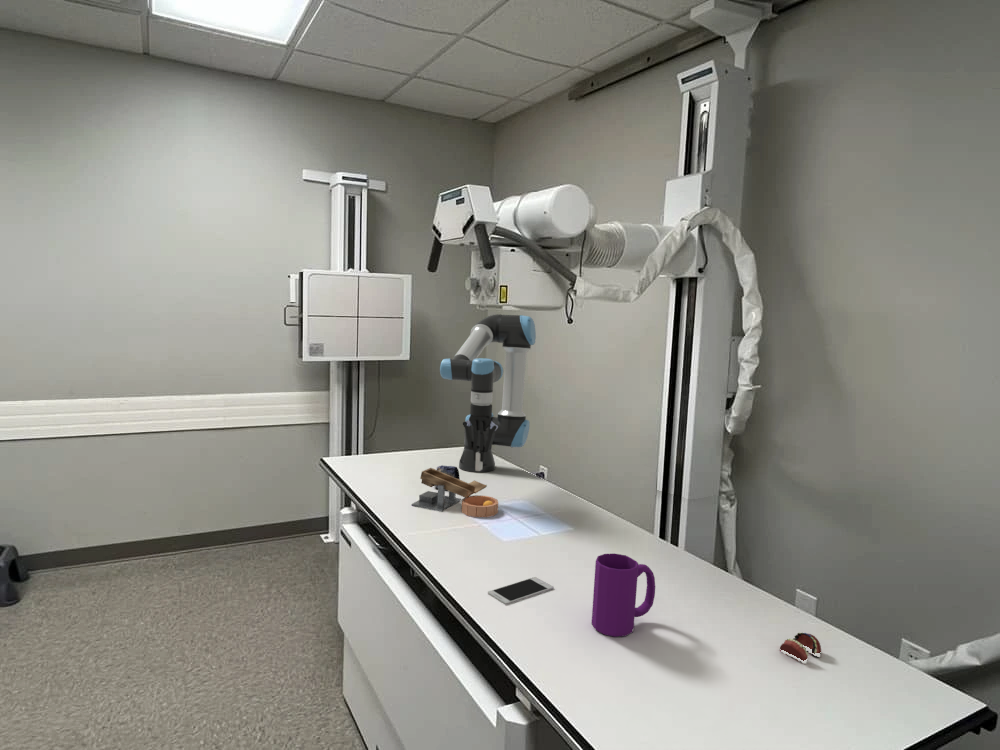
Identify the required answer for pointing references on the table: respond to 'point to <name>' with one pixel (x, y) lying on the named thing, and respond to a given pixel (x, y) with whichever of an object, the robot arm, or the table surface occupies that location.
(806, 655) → the dentures
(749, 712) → the table surface
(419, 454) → the table surface
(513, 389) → the robot arm
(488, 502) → the ball
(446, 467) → the rock
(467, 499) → the terracotta bowl
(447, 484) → the lever
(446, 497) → the pivot base
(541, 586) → the smartphone
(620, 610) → the mug
